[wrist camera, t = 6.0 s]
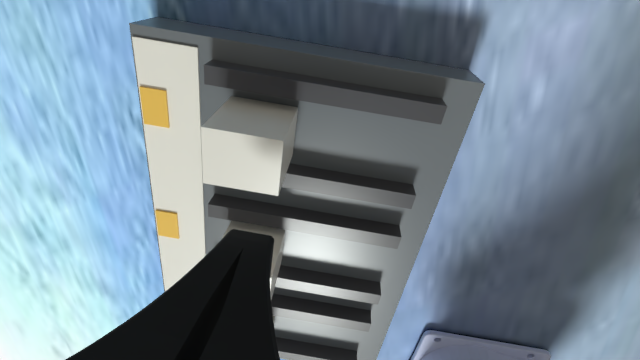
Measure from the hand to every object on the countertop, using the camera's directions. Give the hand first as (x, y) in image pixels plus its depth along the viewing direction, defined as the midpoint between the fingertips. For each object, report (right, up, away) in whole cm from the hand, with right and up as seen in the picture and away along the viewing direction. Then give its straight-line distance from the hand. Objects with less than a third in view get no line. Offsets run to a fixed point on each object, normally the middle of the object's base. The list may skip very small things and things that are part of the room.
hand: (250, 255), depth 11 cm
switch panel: (0, 0, +11) cm, 11 cm away
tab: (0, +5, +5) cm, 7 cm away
